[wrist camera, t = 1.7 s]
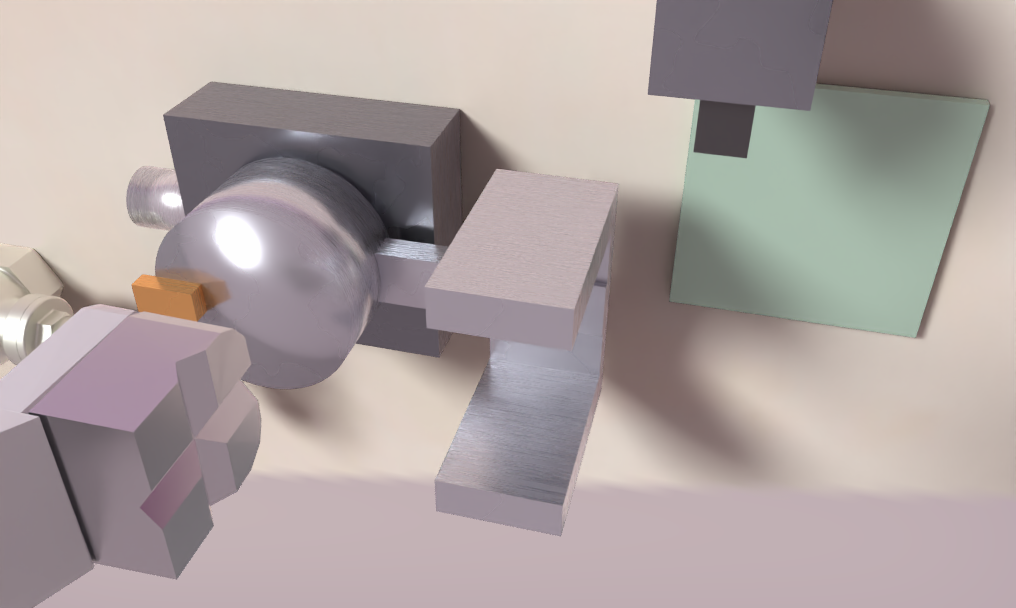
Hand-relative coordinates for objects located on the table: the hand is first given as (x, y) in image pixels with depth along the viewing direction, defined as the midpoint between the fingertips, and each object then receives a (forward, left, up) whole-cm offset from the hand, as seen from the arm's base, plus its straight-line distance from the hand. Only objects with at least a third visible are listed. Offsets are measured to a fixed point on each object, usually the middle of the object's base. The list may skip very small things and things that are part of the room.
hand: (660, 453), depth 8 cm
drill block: (+14, +10, -21) cm, 27 cm away
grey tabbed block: (0, 0, -21) cm, 21 cm away
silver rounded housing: (+10, +10, -18) cm, 22 cm away
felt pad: (-3, +8, -21) cm, 23 cm away
